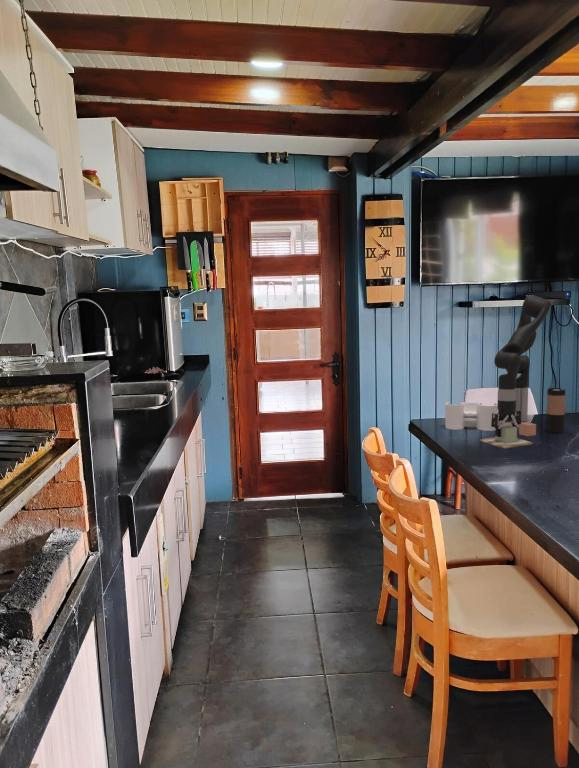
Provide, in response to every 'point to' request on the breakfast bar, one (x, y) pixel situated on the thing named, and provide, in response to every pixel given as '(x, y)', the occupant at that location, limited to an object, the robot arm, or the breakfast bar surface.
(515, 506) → the breakfast bar surface
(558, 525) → the breakfast bar surface
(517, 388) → the robot arm
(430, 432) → the breakfast bar surface
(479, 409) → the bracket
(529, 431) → the terracotta block
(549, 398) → the travel mug
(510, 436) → the sage block
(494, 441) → the board
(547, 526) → the breakfast bar surface
